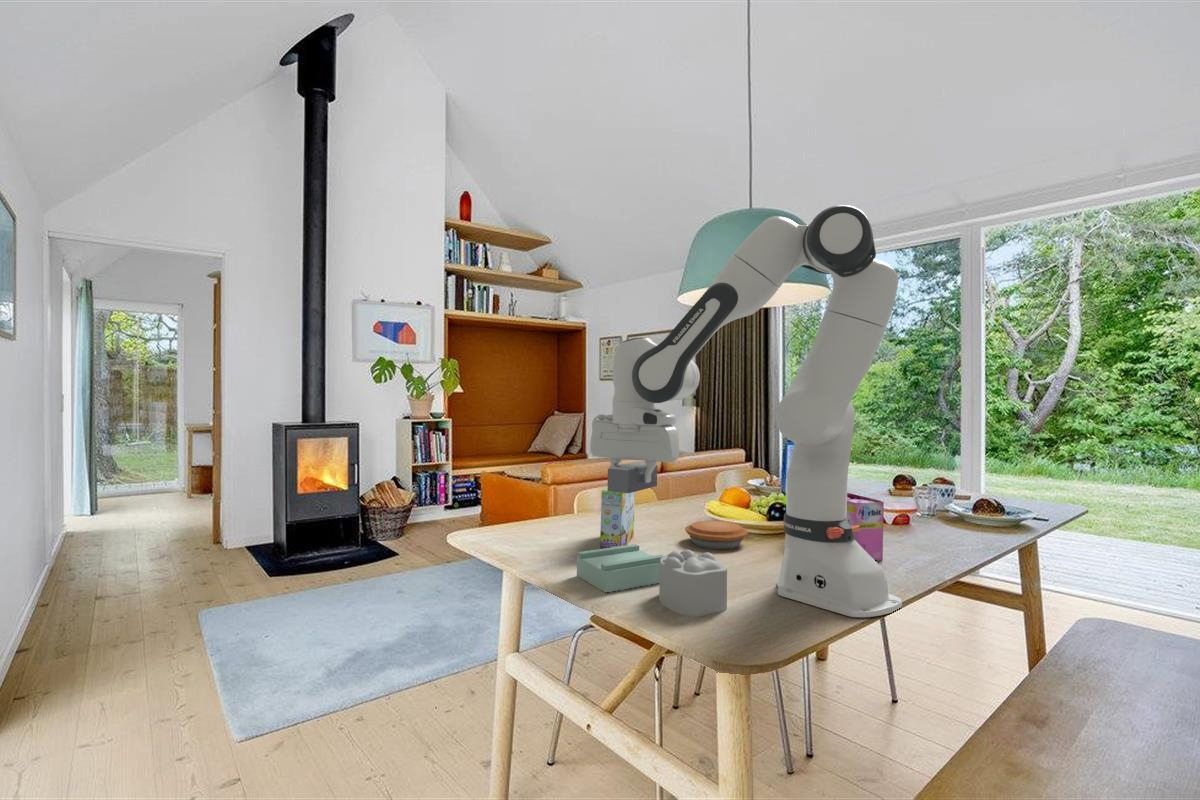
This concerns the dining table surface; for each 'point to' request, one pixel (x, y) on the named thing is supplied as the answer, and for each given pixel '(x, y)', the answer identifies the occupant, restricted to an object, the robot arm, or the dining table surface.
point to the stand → (618, 567)
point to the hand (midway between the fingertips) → (632, 480)
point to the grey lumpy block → (692, 583)
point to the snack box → (616, 518)
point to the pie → (716, 534)
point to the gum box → (867, 523)
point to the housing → (629, 477)
